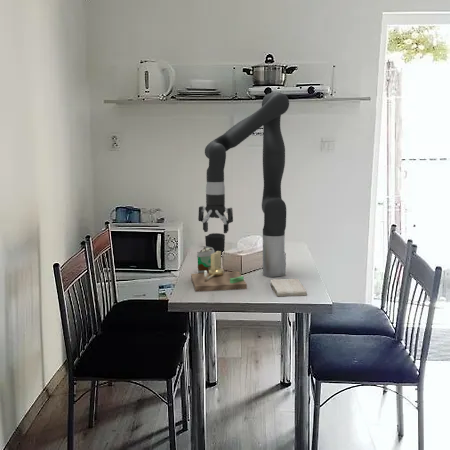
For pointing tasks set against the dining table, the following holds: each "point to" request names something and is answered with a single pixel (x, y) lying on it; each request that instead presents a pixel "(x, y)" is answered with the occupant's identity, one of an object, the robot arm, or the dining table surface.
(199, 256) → the food container
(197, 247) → the dining table surface
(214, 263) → the tan bar with dome
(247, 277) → the dining table surface
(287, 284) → the washcloth
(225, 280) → the dial board
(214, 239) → the pen holder
